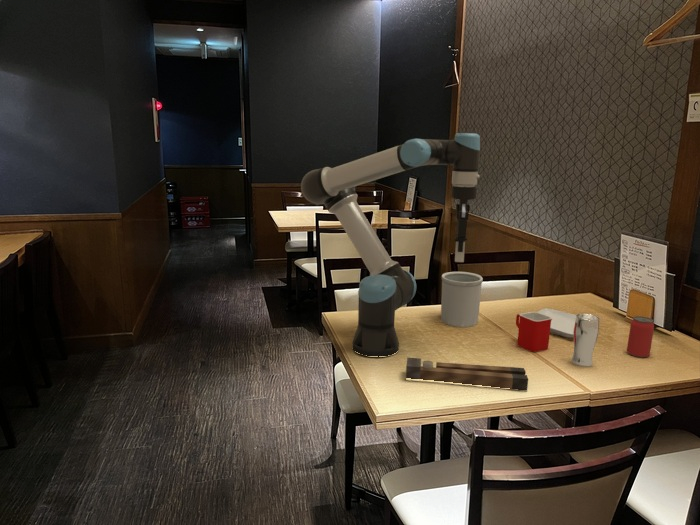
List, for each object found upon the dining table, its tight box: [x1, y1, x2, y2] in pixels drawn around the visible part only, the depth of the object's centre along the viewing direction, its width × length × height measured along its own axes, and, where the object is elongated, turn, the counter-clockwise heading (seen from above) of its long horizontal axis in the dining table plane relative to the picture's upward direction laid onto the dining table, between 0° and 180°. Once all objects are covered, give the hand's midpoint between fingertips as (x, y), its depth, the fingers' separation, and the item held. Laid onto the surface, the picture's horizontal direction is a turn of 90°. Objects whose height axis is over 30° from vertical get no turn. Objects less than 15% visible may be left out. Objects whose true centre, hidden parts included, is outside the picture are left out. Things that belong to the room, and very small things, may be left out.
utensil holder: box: [440, 271, 484, 328], centre depth 192 cm, size 15×15×18 cm
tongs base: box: [405, 357, 529, 391], centre depth 145 cm, size 33×6×5 cm, turn 81°
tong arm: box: [435, 361, 526, 375], centre depth 146 cm, size 24×2×4 cm, turn 83°
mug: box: [515, 311, 552, 353], centre depth 171 cm, size 12×8×11 cm
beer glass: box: [570, 312, 600, 368], centre depth 157 cm, size 7×7×15 cm
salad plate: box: [519, 307, 600, 338], centre depth 189 cm, size 21×21×3 cm
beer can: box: [626, 315, 655, 358], centre depth 165 cm, size 7×7×12 cm
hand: (459, 261), depth 161 cm, fingers closed
